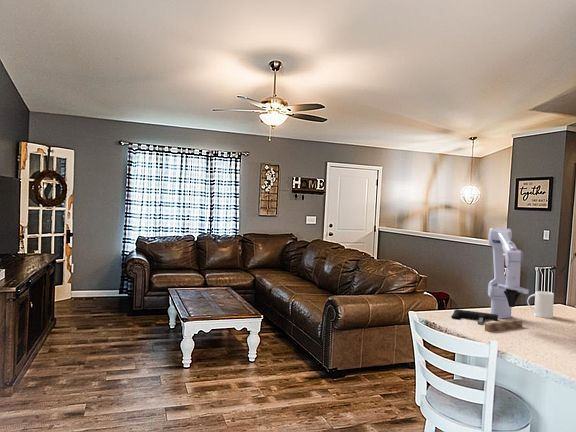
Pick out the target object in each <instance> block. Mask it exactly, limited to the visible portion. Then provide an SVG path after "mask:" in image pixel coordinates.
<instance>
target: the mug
mask: <svg viewBox="0 0 576 432" xmlns="http://www.w3.org/2000/svg"><path fill="white" fill-rule="evenodd" d="M531 297H534V307H533V306H531V305H530V302H529V300H530V298H531ZM554 298H555V293H554V292H551V291H543V290H538V291H535V293H533V294H531V295H529V296H528V298H527V300H526V302H527V306H528V308H530V309H532V310H533V311H534V313H533V315H534V316H535V317H539V318H543V319H553V318H554V300H555V299H554Z"/></svg>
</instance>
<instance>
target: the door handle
mask: <svg viewBox="0 0 576 432" xmlns="http://www.w3.org/2000/svg"><path fill="white" fill-rule="evenodd" d="M451 319H452V320H460V319H467V320H473V321H477V325H482V324H483V323H484V322H485V321H486V320H490V321H498V319H499V318H498V315H496V314H491V312H490V313H487V312H480V311H473V310H465V309H454V311H453V313H452V315H451Z"/></svg>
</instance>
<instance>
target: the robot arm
mask: <svg viewBox="0 0 576 432" xmlns="http://www.w3.org/2000/svg"><path fill="white" fill-rule="evenodd" d="M487 235H488V237H487V240H488V241H487V242H488V245H489V246H491V247H492V258H493V259H492V260H493V279H491V280H489V282H488V284H487V285H488V286H487V295H488V297H489V298H490V299H491V301H490V314H496V315H498V319H499V320H502V319H508V318H513V315H512V308H515V306H516V302H517V301H518V298H519V296H520V295H521V294H524V295H528V294H529V292H530V290H529V288H525V287H522V286H520V285H521V283H520V282H521V266H522V265H521V264H522V263H523V261H524V253H523V251H522V250H520V249H518V247H517V246H516V244H515V243H514V242H513V241H512V238H513V237H512V235H513V232H512V230H511V228H501V227H500V228H498V227H495V228H493V227H490V228H489V230H488V234H487ZM504 262H505V263H504ZM505 267H506V268H505Z"/></svg>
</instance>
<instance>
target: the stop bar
mask: <svg viewBox="0 0 576 432" xmlns="http://www.w3.org/2000/svg"><path fill="white" fill-rule="evenodd" d="M522 327H523V320H522V319H520V318H518V319H509V320H503V321H495V322H488V323H484V331H485V332H488V333H489V332H495V331H504V330H509V329H515V328H522Z"/></svg>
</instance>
